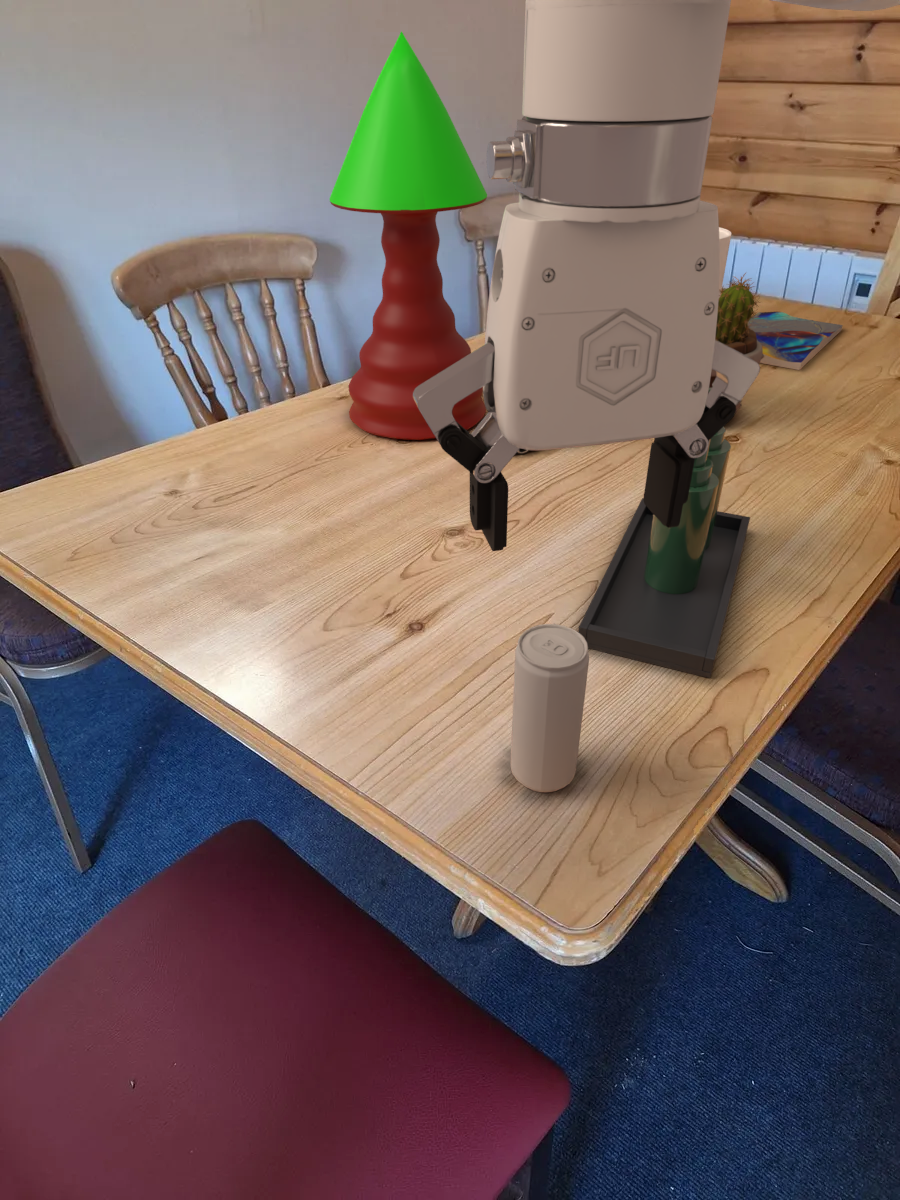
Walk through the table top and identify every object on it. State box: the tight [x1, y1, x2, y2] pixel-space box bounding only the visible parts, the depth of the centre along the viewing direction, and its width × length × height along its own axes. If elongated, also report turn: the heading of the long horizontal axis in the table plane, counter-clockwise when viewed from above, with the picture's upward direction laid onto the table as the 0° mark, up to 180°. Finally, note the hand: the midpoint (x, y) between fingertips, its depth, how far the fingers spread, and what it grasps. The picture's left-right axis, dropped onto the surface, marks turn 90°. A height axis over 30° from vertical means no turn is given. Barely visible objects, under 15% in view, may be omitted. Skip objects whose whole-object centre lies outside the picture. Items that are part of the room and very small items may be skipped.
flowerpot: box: [709, 272, 764, 413], centre depth 105 cm, size 14×15×20 cm
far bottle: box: [705, 388, 732, 550], centre depth 77 cm, size 5×5×16 cm
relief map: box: [748, 311, 844, 371], centre depth 136 cm, size 25×15×2 cm, turn 144°
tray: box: [577, 497, 751, 679], centre depth 76 cm, size 12×26×2 cm, turn 156°
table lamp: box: [329, 31, 488, 441], centre depth 100 cm, size 20×20×45 cm
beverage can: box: [510, 623, 590, 793], centre depth 54 cm, size 5×5×12 cm
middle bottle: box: [644, 439, 719, 594], centre depth 72 cm, size 5×5×16 cm
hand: (577, 526), depth 42 cm, fingers open, 9 cm apart
